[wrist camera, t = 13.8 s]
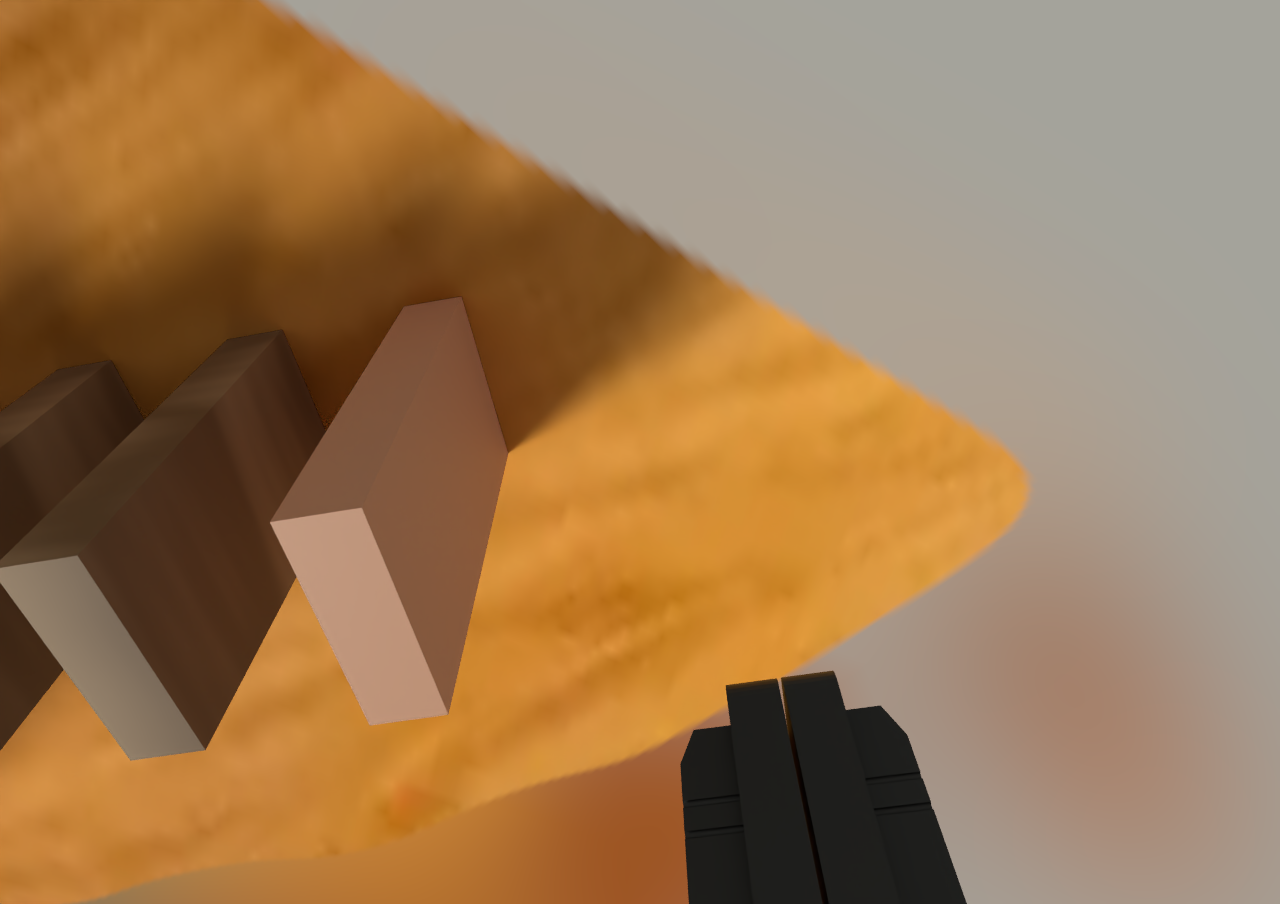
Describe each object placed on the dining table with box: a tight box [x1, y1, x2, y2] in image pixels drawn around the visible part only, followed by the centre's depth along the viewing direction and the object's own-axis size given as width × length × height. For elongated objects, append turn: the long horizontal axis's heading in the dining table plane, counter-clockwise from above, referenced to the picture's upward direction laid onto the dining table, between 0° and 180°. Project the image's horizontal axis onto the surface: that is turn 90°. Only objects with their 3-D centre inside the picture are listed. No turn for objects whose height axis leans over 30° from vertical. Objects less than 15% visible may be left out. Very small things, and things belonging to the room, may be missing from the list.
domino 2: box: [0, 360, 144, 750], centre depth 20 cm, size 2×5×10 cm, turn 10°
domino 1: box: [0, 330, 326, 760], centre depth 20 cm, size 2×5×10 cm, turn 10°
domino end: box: [270, 297, 508, 725], centre depth 19 cm, size 2×5×10 cm, turn 10°
